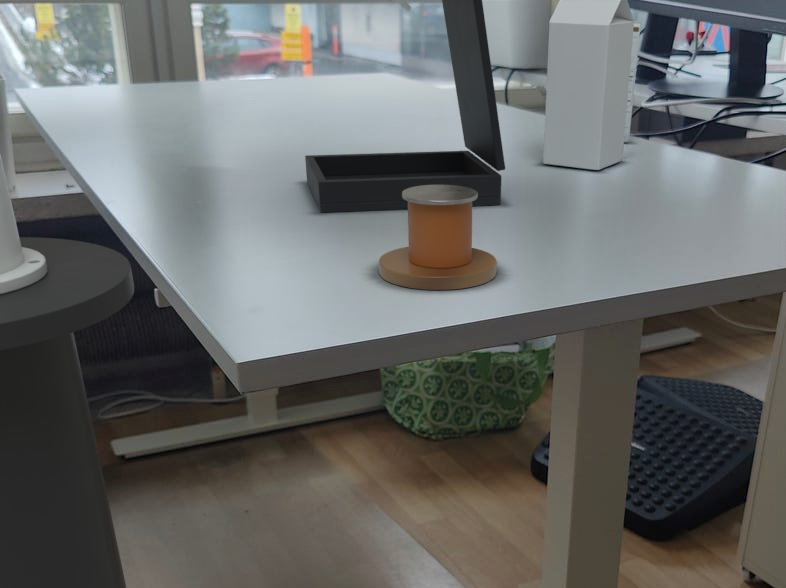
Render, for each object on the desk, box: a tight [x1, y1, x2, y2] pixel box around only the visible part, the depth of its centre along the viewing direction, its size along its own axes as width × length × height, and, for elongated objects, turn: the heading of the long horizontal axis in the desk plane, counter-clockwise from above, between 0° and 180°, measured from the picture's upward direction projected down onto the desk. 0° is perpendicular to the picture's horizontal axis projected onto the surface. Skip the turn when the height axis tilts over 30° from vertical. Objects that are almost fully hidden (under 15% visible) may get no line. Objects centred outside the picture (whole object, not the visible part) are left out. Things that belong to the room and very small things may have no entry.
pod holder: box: [304, 150, 502, 213], centre depth 97 cm, size 18×14×3 cm
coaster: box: [378, 246, 498, 291], centre depth 73 cm, size 9×9×1 cm
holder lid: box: [441, 0, 506, 172], centre depth 93 cm, size 18×14×1 cm
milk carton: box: [542, 0, 635, 171], centre depth 108 cm, size 7×7×19 cm
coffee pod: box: [402, 185, 478, 268], centre depth 72 cm, size 6×6×5 cm
